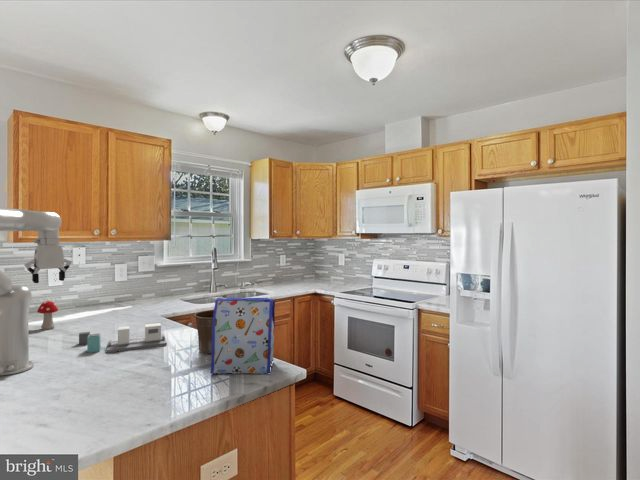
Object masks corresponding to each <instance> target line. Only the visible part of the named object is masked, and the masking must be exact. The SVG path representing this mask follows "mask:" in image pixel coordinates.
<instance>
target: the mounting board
mask: <svg viewBox="0 0 640 480" xmlns="http://www.w3.org/2000/svg"><path fill="white" fill-rule="evenodd" d="M161 337H162V335H161ZM140 339H145V337H140V338H131V339H130V338H129V341H131V340H140ZM113 342H118V340H113V341H112V340H111V343H113ZM165 345H168V343H167V340H166V338H165V340H162V341H154V342H145V343H137V344H128V345H120V346H111V347H108V344H107V345H106V350H105V351H106V352H105V353H106V354H109V353H110V352H111V353H116V352H117V351H119V352H125V350H127V351H133V349H135V350H141V348H143V349H150V348H149V347H151V348H157V346H159V347H165Z"/></svg>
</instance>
